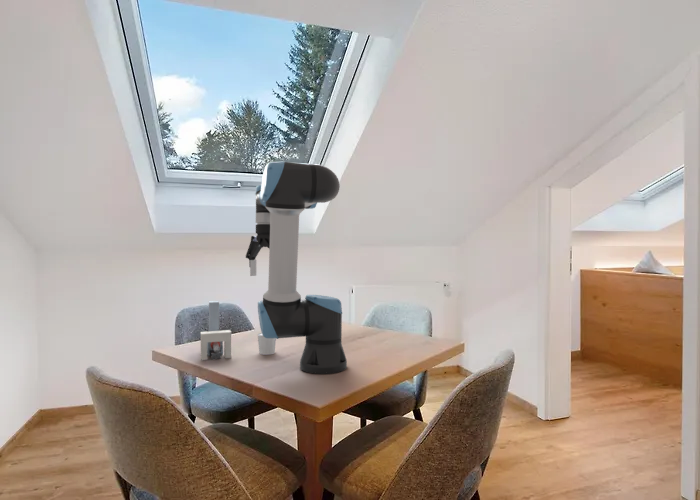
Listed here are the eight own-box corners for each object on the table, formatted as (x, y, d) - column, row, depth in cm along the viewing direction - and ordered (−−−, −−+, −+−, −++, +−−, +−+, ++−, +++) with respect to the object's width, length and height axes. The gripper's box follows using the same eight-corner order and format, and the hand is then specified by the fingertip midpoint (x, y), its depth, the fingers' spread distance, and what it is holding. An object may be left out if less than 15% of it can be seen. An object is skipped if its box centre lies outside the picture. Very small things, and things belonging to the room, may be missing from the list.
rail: (220, 358, 151) (220, 352, 151) (211, 359, 150) (211, 353, 150) (216, 343, 173) (216, 338, 173) (208, 344, 172) (208, 339, 172)
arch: (231, 357, 152) (231, 332, 152) (200, 360, 149) (201, 334, 148) (230, 355, 156) (230, 330, 156) (200, 357, 152) (200, 331, 152)
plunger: (221, 354, 147) (221, 345, 147) (211, 355, 146) (211, 345, 146) (220, 348, 156) (220, 339, 155) (210, 349, 154) (210, 340, 154)
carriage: (222, 354, 156) (223, 304, 156) (207, 355, 154) (207, 305, 154) (220, 347, 166) (220, 300, 166) (206, 348, 164) (206, 301, 164)
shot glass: (253, 352, 159) (253, 333, 159) (269, 349, 164) (269, 331, 164) (264, 356, 155) (264, 336, 154) (280, 352, 159) (280, 333, 159)
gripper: (294, 223, 171) (294, 277, 172) (250, 224, 186) (250, 274, 186) (281, 222, 165) (281, 278, 166) (237, 224, 179) (236, 275, 180)
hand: (265, 276), depth 176 cm, fingers open, 13 cm apart
